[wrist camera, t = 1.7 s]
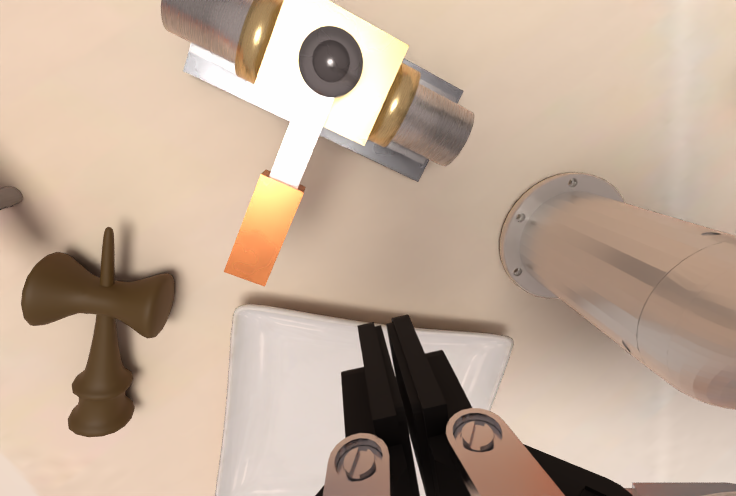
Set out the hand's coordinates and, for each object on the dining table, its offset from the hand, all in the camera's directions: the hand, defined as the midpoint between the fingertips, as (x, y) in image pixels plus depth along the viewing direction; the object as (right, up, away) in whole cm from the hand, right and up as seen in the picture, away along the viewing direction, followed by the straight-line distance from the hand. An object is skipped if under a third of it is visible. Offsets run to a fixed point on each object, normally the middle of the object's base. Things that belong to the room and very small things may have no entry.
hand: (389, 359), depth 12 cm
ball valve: (-4, +17, +18) cm, 25 cm away
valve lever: (-5, +8, +9) cm, 14 cm away
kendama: (-24, -3, +24) cm, 34 cm away
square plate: (-2, -15, +31) cm, 34 cm away
